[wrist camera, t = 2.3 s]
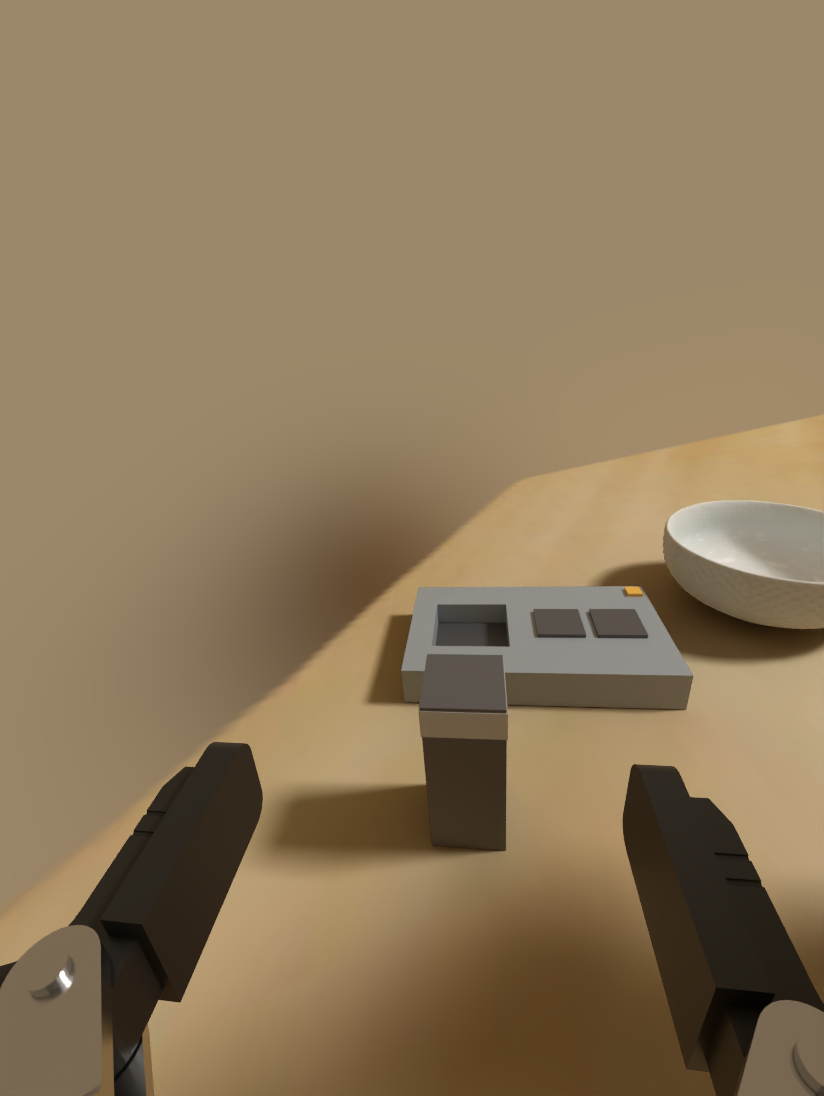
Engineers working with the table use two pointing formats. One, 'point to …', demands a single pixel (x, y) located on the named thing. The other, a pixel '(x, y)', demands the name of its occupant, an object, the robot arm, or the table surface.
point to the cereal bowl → (751, 560)
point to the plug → (465, 749)
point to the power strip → (554, 644)
